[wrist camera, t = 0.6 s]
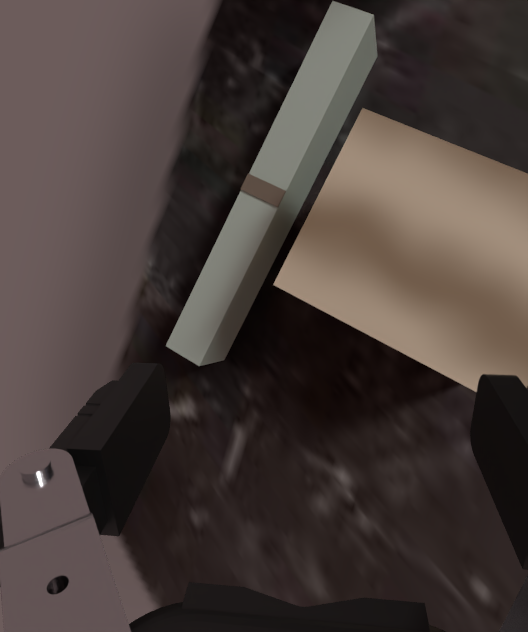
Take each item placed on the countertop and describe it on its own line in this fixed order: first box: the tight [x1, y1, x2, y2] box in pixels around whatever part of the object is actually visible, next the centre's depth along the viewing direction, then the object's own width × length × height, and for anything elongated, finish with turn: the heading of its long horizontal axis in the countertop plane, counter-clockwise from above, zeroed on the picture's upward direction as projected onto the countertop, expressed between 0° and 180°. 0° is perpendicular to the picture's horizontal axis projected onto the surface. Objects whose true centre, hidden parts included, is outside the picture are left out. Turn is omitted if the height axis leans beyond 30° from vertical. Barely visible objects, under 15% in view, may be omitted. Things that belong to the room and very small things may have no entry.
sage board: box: [166, 1, 377, 366], centre depth 35 cm, size 26×3×5 cm, turn 152°
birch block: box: [273, 108, 528, 392], centre depth 29 cm, size 10×13×12 cm
